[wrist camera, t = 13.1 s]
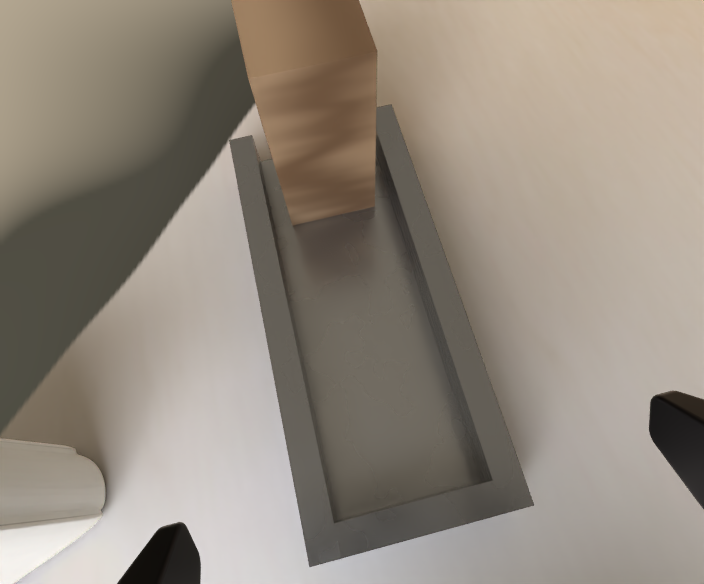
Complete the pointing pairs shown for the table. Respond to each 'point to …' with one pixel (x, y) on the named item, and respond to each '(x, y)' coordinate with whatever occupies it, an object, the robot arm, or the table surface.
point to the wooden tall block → (314, 100)
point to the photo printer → (43, 503)
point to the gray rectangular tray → (374, 364)
